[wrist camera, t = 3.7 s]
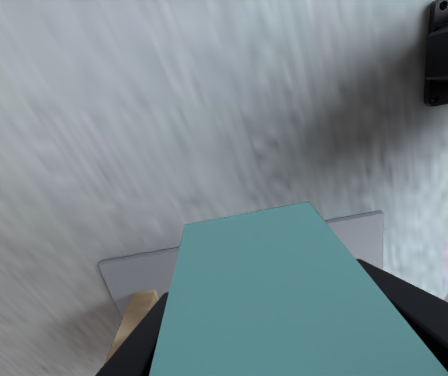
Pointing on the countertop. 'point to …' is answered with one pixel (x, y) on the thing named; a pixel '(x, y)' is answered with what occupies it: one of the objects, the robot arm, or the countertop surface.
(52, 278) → the countertop surface
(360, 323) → the teal tile
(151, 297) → the maple tile
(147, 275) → the slate mat
